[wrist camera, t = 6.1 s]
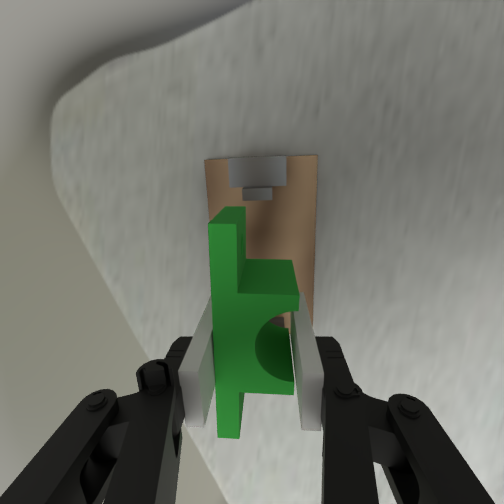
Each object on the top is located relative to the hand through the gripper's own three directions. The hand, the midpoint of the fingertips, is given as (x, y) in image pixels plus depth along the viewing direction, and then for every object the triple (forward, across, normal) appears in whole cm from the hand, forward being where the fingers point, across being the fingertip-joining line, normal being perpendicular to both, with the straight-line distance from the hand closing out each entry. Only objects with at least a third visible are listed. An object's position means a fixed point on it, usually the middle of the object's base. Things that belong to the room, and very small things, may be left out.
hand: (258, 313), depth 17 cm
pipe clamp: (+1, 0, -1) cm, 1 cm away
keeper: (+13, 0, 0) cm, 13 cm away
